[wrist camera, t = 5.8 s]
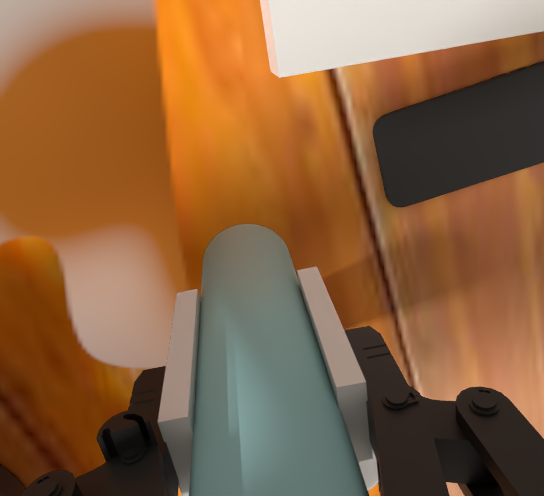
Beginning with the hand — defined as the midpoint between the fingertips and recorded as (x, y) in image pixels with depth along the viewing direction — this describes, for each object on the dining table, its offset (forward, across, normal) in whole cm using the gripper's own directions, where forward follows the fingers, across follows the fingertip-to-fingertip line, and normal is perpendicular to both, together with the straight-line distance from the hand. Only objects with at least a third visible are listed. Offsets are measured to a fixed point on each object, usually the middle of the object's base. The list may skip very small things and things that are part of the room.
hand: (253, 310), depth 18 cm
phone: (+19, +18, 0) cm, 27 cm away
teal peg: (+4, 0, 0) cm, 4 cm away
